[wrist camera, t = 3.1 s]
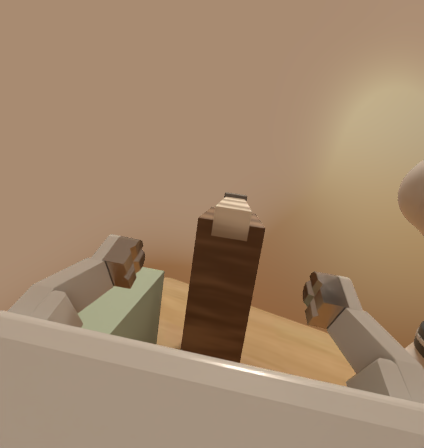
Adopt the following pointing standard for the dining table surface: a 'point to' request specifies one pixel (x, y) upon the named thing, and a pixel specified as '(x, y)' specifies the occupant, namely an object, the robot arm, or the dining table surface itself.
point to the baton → (232, 217)
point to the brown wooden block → (221, 290)
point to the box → (128, 309)
